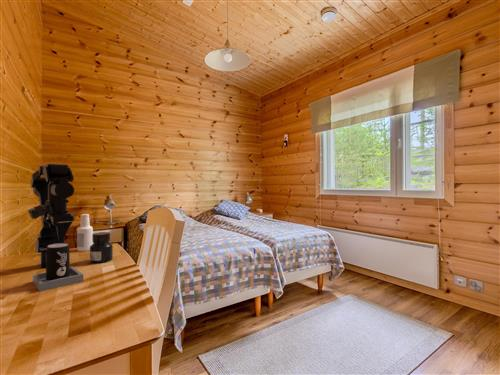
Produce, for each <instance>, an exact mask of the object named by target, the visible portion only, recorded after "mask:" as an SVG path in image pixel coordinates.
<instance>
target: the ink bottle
mask: <svg viewBox="0 0 500 375" xmlns="http://www.w3.org/2000/svg"><path fill="white" fill-rule="evenodd" d="M110 241H111V232H110V231H109V232H108V231H100V232H93V234H92V242H93V244H92V245H91V246H90V250H89V262H90V263H94V264H102V263H106V262H110V261H112V260H113V258H114V257H113V256H114V255H113V254H114V253H113V252H114V250H113V248H114V245H113V244H112V243H111V242H110Z"/></svg>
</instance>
